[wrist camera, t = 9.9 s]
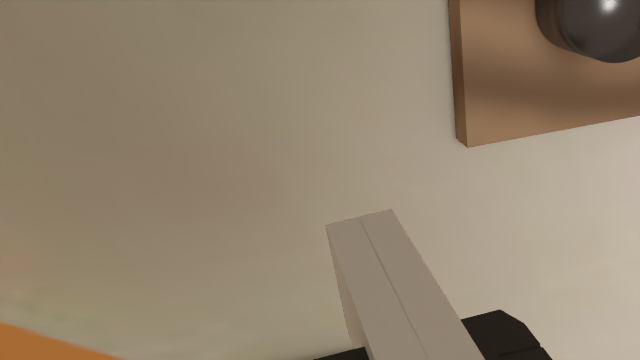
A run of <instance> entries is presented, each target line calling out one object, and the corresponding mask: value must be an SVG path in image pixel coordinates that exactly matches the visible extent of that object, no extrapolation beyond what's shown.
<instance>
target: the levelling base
mask: <svg viewBox="0 0 640 360" xmlns="http://www.w3.org/2000/svg"><path fill="white" fill-rule="evenodd" d="M536 3H537V0H448V5H449V22H450V39H451V56H452V72H453V89H454V106H455V123H456V138H457V139H458V140H459V141H460V142H461V143H463V144H464V145H465V146H466V147H467V148H468V147H474V146H479V145H484V144H490V143H495V142H501V141H506V140H511V139H517V138H522V137H527V136H533V135H538V134H543V133H549V132H554V131H559V130H565V129H570V128H575V127H581V126H586V125H591V124H597V123H602V122H607V121H613V120H618V119H623V118H629V117H634V116H639V115H640V57H638V58H635V59H633V60H630V61H627V62H622V63H606V62H602V61H598V60H595V59H592V58H589V57H586V56H583V55H580V54H577V53H574V52H571V51H568V50H565V49H562V48H559V47H557V46H556V45H554V44H553V43H551V42H550V41H549V40H548V39H547V38H546V37H545V35H544V34H543V32H542V30H541V28H540V26H539V23H538V19H537V13H536Z"/></svg>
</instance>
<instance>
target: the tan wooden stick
mask: <svg viewBox="0 0 640 360" xmlns="http://www.w3.org/2000/svg"><path fill="white" fill-rule="evenodd" d="M536 13H537V19H538V23H539V26H540V28H541V30H542V32H543V34H544V35H545V37H546V38H547V39H548V40H549V41H550V42H551V43H553V44H554V45H556V46H557V47H559V48H562V49H565V50H568V51H571V52H574V53H577V54H580V55H583V56H586V57H589V58H592V59H595V60H598V61H602V62H606V63H622V62H627V61H630V60H633V59H635V58H638V57H640V0H537V3H536Z"/></svg>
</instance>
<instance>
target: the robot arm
mask: <svg viewBox="0 0 640 360" xmlns="http://www.w3.org/2000/svg"><path fill="white" fill-rule="evenodd" d="M326 230H327V235H328V240H329V245H330V249H331V254H332V259H333V264H334V268H335V273H336V278H337V283H338V288H339V292H340V297H341V302H342V307H343V311H344V316H345V321H346V326H347V329H348V332H349V335H350V338H351V341H352V344H353V347H354V349H353V350H349V351H345V352H341V353H337V354H334V355H330V356H326V357H322V358H318V359H314V360H552V359H551V357H550V356H549V355H548V353H547V352H546V351H545V350H544V348H543V347H542V348H541V346H540V343H539V342H538V341H537V339H536V338H535V337H534V335H533V334H532V333H531V332H530V330H529V329H528V328H527V326H526V325H525V324H524V323H522V322H521V321H519V320H517V319H516V318H514V317H512V316H510V315H509V314H507V313H505V312H504V311H502V310H496V311H492V312H488V313H484V314H481V315H477V316H473V317H469V318H465V319H461V320H460V319H459V317H458V315H457V314H456V312H455V311H454V309H453V307H452V306H451V304H450V303H449V301H448V299H447V298H446V296H445V295H444V293H443V291H442V290H441V288H440V287H439V285H438V283H437V282H436V280H435V279H434V277H433V275H432V274H431V272H430V270H429V269H428V267H427V266H426V264H425V262H424V261H423V259H422V258H421V256H420V254H419V253H418V251H417V250H416V248H415V246H414V245H413V243H412V242H411V240H410V238H409V237H408V235H407V234H406V232H405V230H404V229H403V227H402V226H401V224H400V222H399V221H398V219H397V218H396V216H395V214H394V213H393V211H392V209H389V210H385V211H381V212H377V213H373V214H369V215H365V216H361V217H356V218H352V219H348V220H344V221H340V222H336V223H332V224H328V225H326Z"/></svg>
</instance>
